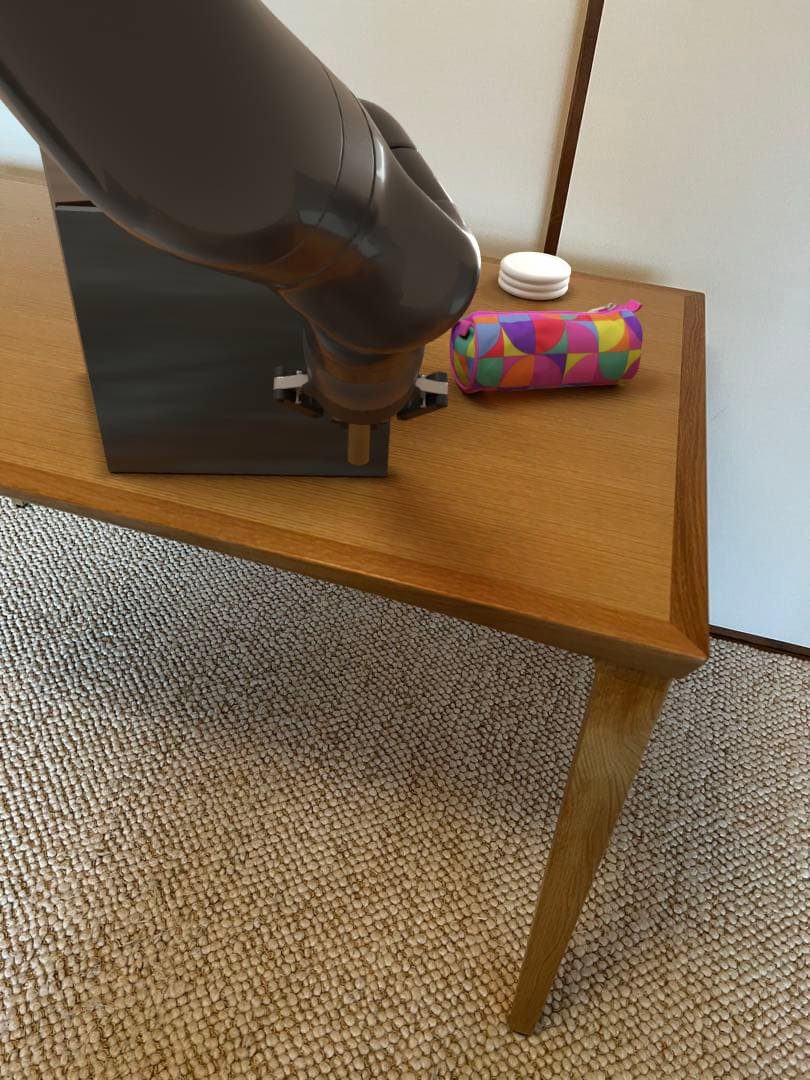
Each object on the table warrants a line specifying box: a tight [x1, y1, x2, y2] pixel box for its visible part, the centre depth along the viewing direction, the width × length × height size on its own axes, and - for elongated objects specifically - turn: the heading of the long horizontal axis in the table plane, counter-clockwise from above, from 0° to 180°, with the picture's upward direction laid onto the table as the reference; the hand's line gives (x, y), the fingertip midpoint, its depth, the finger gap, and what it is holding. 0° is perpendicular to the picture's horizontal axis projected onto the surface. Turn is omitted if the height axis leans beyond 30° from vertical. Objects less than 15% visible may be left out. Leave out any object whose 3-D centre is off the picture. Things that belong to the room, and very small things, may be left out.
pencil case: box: [449, 298, 644, 395], centre depth 92 cm, size 22×9×9 cm, turn 108°
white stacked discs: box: [497, 251, 572, 301], centre depth 116 cm, size 10×10×4 cm
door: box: [55, 206, 392, 477], centre depth 67 cm, size 8×26×24 cm, turn 93°
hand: (359, 417), depth 69 cm, fingers closed on door, 2 cm apart
